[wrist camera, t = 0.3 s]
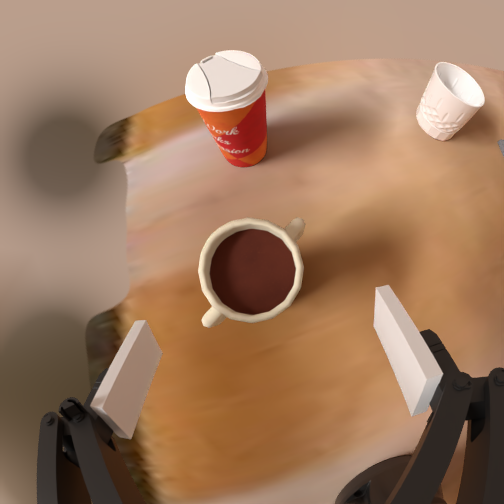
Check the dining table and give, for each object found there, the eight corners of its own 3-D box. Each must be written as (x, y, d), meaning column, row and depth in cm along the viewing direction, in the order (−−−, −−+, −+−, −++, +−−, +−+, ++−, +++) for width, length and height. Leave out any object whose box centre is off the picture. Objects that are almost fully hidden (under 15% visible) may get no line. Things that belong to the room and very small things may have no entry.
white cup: (444, 154, 31) (477, 116, 21) (403, 118, 33) (426, 73, 23) (461, 128, 31) (489, 92, 22) (423, 96, 33) (445, 55, 23)
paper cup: (205, 146, 35) (167, 74, 22) (252, 116, 35) (235, 38, 22) (237, 187, 33) (207, 118, 20) (288, 153, 34) (286, 74, 20)
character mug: (274, 226, 32) (265, 176, 19) (321, 268, 31) (345, 243, 18) (208, 296, 31) (159, 291, 19) (254, 340, 30) (231, 365, 17)
